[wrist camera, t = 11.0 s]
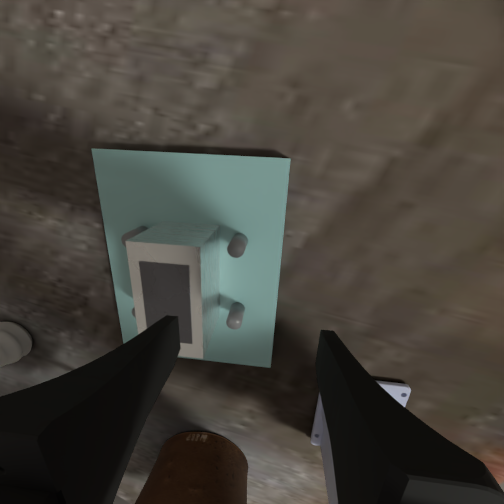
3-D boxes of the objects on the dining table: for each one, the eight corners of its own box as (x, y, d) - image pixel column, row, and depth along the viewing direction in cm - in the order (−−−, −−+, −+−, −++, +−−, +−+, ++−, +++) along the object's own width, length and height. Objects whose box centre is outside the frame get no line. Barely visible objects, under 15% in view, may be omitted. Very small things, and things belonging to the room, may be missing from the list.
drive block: (219, 315, 22) (202, 359, 17) (170, 310, 22) (140, 352, 17) (219, 225, 19) (199, 247, 14) (162, 220, 19) (124, 241, 14)
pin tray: (271, 358, 24) (269, 386, 21) (131, 342, 25) (111, 367, 22) (289, 158, 18) (292, 158, 15) (102, 148, 19) (69, 147, 16)
